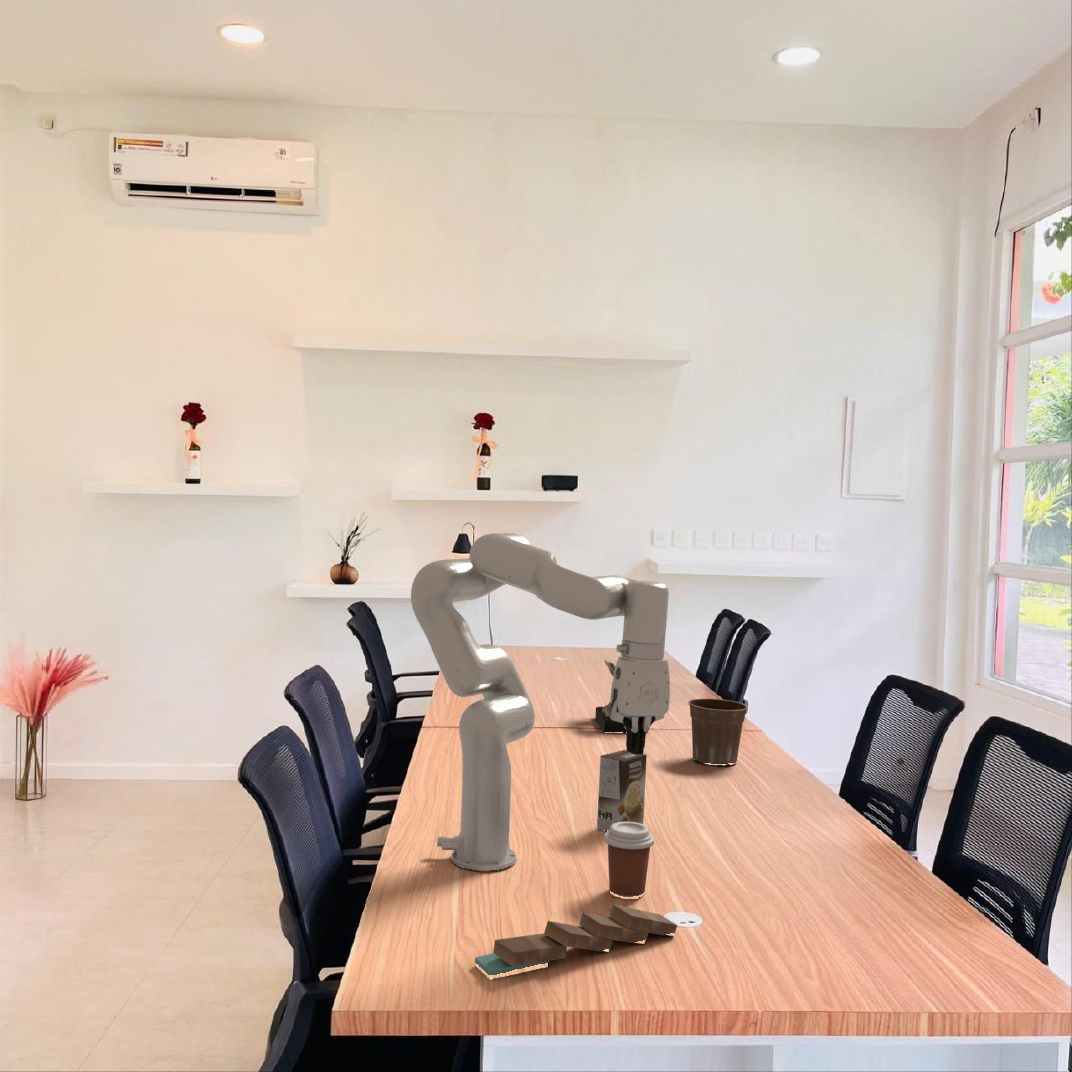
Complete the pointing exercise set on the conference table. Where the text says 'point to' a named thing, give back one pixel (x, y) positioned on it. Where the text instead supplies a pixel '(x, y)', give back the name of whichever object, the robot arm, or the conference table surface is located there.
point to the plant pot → (716, 729)
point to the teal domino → (498, 964)
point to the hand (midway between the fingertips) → (634, 752)
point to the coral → (608, 713)
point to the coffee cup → (628, 857)
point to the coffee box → (621, 788)
